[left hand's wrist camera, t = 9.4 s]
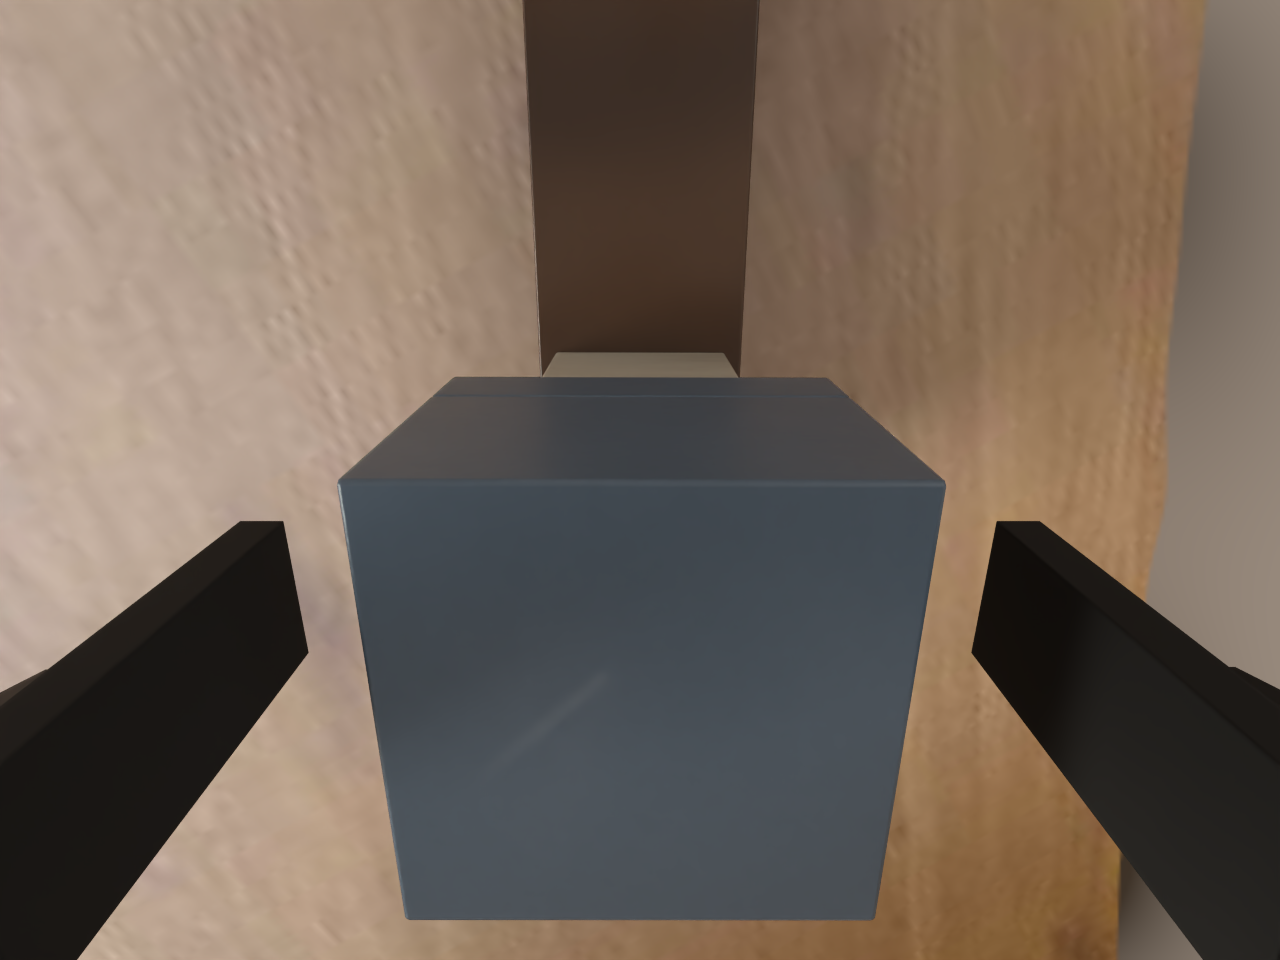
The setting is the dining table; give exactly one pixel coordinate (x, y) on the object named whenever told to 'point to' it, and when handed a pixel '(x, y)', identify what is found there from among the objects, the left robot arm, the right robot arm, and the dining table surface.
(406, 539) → the slate blue cube
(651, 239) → the stand
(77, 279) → the dining table surface
